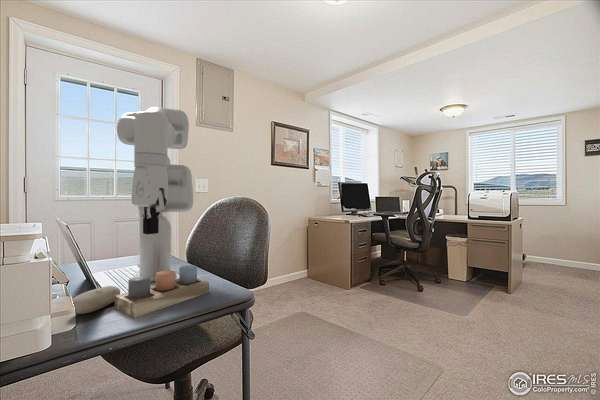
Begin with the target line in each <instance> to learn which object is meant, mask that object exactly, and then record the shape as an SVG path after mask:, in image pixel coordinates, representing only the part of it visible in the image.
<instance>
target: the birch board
mask: <svg viewBox="0 0 600 400" xmlns="http://www.w3.org/2000/svg"><path fill="white" fill-rule="evenodd" d="M208 293H210V282H209V281H206V280H203V279H200V278H197V281H196V282H193V283H187V284H184V283H180V282H179V278H175V288H173V289H169V290H157V289H156V284H153V285H150V295H148V296H146V297H142V298H129V297H128V292H124V293H120V294H119V295H116V296H115V301H114V309H117V310H118V311H121V312H123V313H124V314H127V315H129V316H131V317H133V318H135V319H136V318H139V317H142V316H145V315H148V314H150V313H153V312H156V311H159V310H162V309H165V308H167V307H170V306H173V305H176V304H179V303H182V302H184V301H188V300H190V299H191V300H192V299H194V298H196V297H199V296H202V295H205V294H208Z"/></svg>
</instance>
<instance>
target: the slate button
mask: <svg viewBox="0 0 600 400" xmlns="http://www.w3.org/2000/svg"><path fill="white" fill-rule="evenodd" d="M178 272H179V277H178V279H179V282H180V283H184V284H187V283H193V282H196V281H197V279H198V266H197V265H196V264H195V265H194V264H193V265H192V264H191V265H190V264H188V265H181V266H179V271H178Z"/></svg>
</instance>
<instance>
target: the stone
mask: <svg viewBox="0 0 600 400" xmlns="http://www.w3.org/2000/svg"><path fill="white" fill-rule="evenodd" d="M119 294H121V289H120V288H119V287H118V286H114V285H108V286H101V287H97V288H94V289H91V290H87V291H84V292H83V293H80V294H77V295H76V296H74V297H73V298H72V299H71V300H72V301H73V304H74V307H75V313H74V314H76V315H77V314H78V315H83V314H90V313H92V312H93V313H94V312H95V311H99V310H101V309H103V308H105V307H107V306H109V305H110V304H112V303H115V296H116V295H119Z"/></svg>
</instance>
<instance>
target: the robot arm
mask: <svg viewBox="0 0 600 400" xmlns="http://www.w3.org/2000/svg"><path fill="white" fill-rule="evenodd" d="M189 122H190V121H189V117H188V115H187V113H186V112H185V111H183V110H181V109H174V108H165V107H158V106H154V107H153V106H152V107H150V108H148V109H147V110H146V111H145V110H144V111H138V112H134V111H133V112H126V113H124V114H122V115H120V117H119V119H118V122H117V125H116V135H117V138H118V140H119V141H120V142H121V143H122V144H124V145H127V146H133V147H134V152H133V155H134V159H133V160H134V162H133V164H134V166H133V167H134V170H133V175H132V187H131V204H132V205H133V206H135V207H137V208H138V209H137V210H138V215H139V217H138V218H139V263H138V264H137V268H139V272H137V273H135V274H134V276H133V278H134V277H139V276H148V277H150V283H152V282H153V281H155V282H156V273H157V272H160V271H166V270H172V271H175V275H176V273H177V272H176V270H174V269H172V266H171V265H172V225H171V222H170V220H169V219H168V218H167V216H165V215H164V214H163V213H185V212H189V211H190V210H192V208H193V206H194V188H193V187H194V186H193V177H192V170H191V169H190V167H189V166H186V165H185V164H184V165H183V164H171V158H170V157H169V156H168V149H171V150H173V149H174V150H184V149H185V148H187V145H188V143H189V130H190V124H189ZM153 283H154V282H153Z"/></svg>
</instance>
